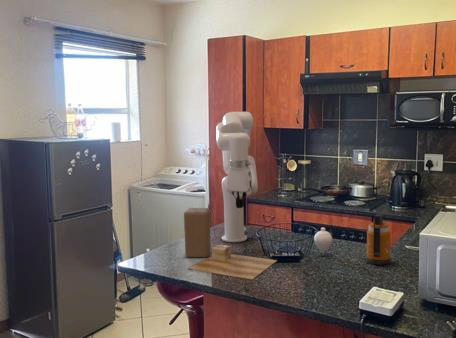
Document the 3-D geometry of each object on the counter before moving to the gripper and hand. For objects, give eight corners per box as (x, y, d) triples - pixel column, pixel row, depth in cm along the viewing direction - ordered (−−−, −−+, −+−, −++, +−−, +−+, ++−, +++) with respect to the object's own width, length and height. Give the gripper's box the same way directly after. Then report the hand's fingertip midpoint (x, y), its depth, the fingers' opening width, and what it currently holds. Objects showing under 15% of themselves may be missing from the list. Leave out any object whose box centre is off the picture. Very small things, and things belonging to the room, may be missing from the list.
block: (211, 251, 202) (210, 207, 200) (207, 258, 192) (206, 212, 190) (189, 250, 203) (188, 207, 201) (184, 257, 193) (183, 212, 191)
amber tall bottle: (390, 260, 184) (391, 212, 182) (387, 268, 174) (388, 218, 172) (368, 257, 188) (369, 210, 185) (364, 266, 178) (364, 216, 175)
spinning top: (312, 257, 190) (312, 229, 189) (316, 251, 197) (316, 225, 196) (330, 258, 188) (330, 230, 186) (333, 253, 195) (333, 226, 193)
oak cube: (218, 255, 194) (218, 244, 194) (230, 257, 192) (230, 246, 191) (211, 259, 189) (211, 248, 189) (224, 261, 186) (224, 249, 186)
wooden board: (219, 252, 200) (219, 252, 200) (277, 260, 186) (277, 260, 186) (188, 269, 179) (188, 268, 178) (251, 279, 165) (251, 279, 165)
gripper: (259, 163, 185) (259, 207, 188) (227, 162, 192) (228, 204, 195) (251, 166, 179) (252, 211, 181) (218, 164, 186) (220, 207, 188)
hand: (239, 207), depth 188 cm, fingers closed
